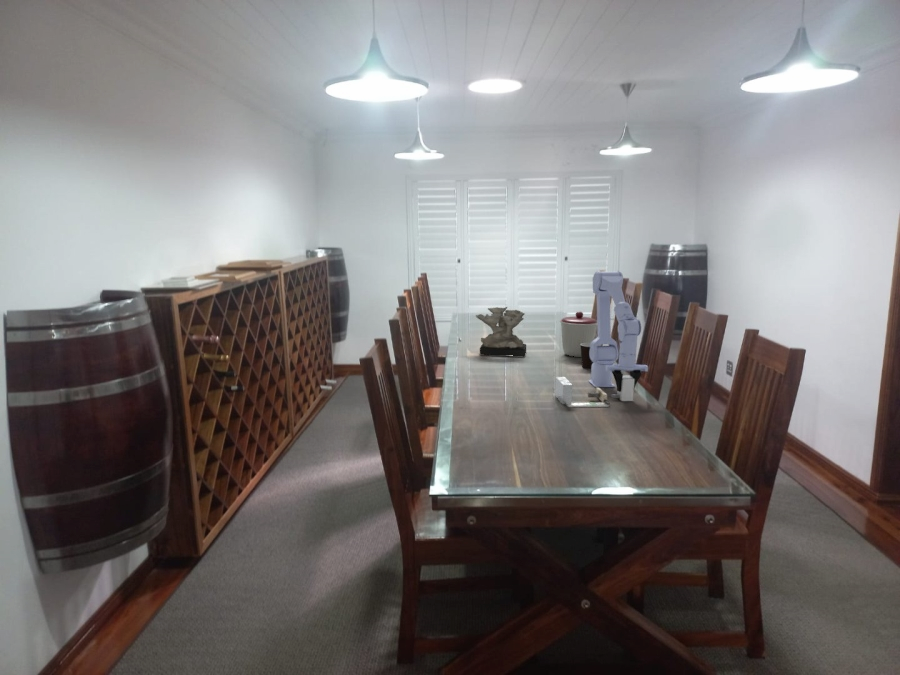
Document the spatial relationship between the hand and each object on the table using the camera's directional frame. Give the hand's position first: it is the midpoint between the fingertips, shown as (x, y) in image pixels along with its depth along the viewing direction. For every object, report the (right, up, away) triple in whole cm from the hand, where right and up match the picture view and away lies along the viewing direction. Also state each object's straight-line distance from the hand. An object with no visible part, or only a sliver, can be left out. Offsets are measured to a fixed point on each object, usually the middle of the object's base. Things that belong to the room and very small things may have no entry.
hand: (625, 390), depth 209 cm
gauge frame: (-16, -3, -2) cm, 17 cm away
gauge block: (-1, -3, 0) cm, 3 cm away
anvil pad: (-10, -3, -2) cm, 11 cm away
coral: (-37, +12, +80) cm, 89 cm away
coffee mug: (0, +6, +50) cm, 50 cm away
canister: (-1, +10, +74) cm, 75 cm away
